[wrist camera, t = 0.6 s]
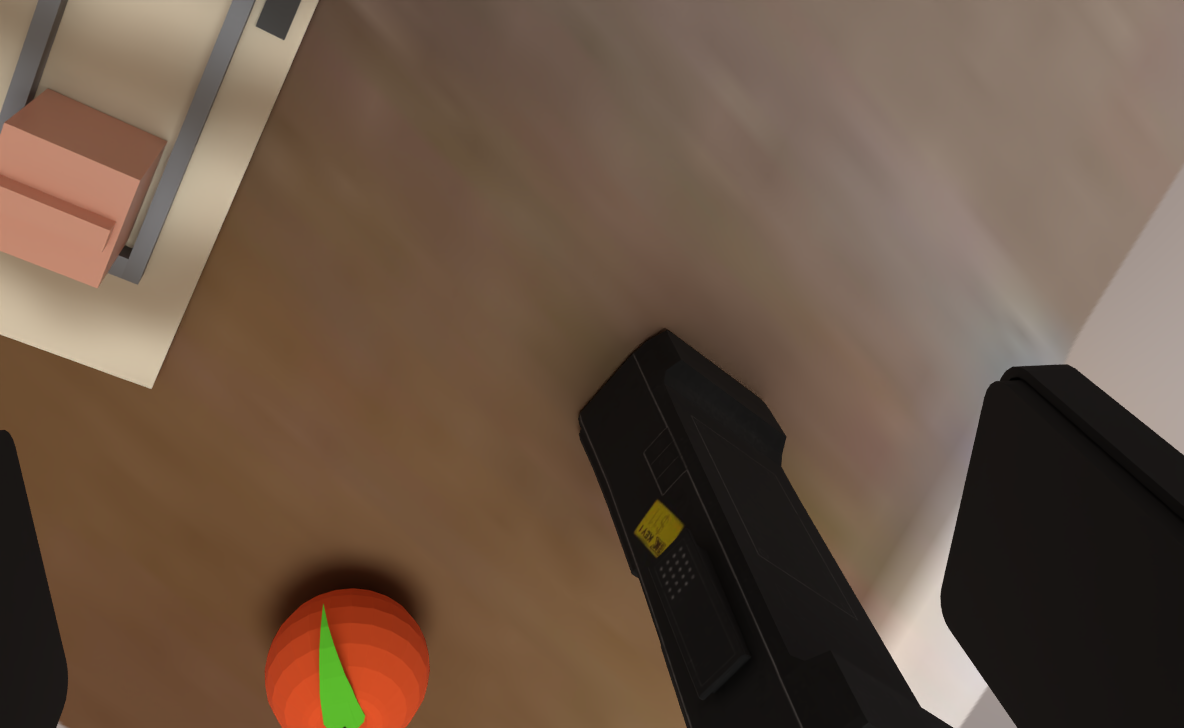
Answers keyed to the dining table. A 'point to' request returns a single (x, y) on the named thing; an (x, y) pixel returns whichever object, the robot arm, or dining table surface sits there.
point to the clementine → (347, 663)
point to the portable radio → (733, 555)
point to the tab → (72, 185)
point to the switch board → (186, 169)
